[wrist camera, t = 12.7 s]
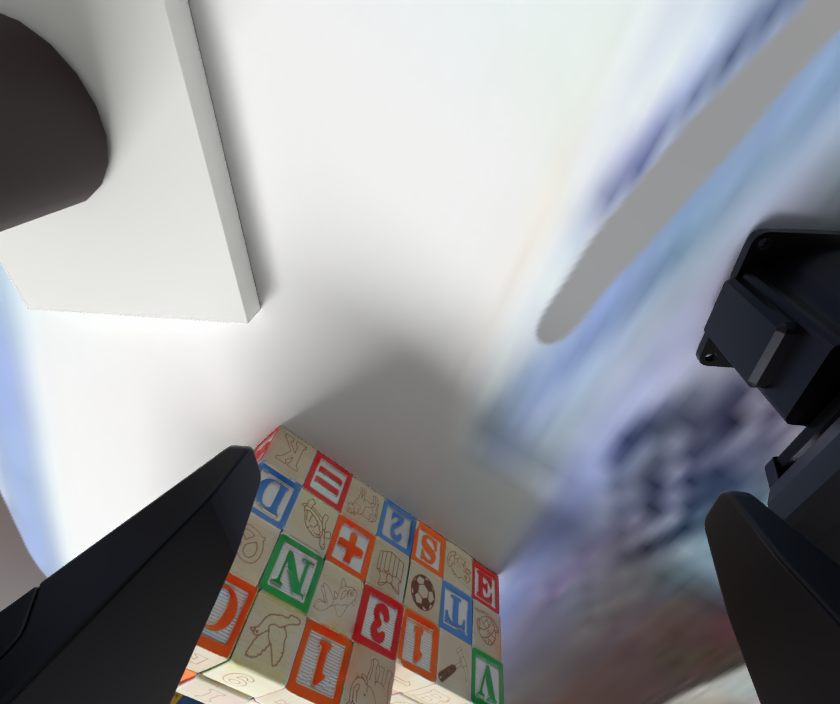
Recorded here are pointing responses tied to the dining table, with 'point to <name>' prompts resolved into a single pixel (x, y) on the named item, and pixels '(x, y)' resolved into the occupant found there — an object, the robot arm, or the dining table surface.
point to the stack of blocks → (344, 600)
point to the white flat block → (137, 176)
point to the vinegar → (44, 130)
